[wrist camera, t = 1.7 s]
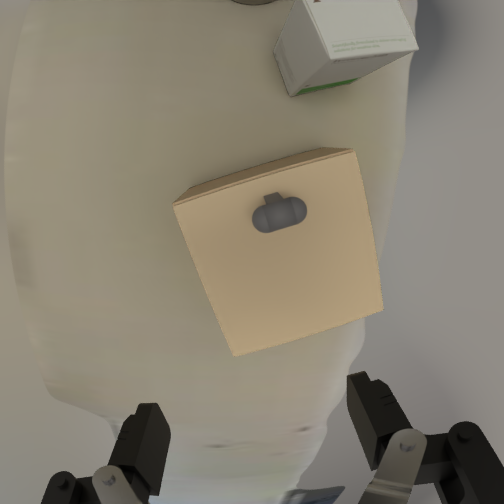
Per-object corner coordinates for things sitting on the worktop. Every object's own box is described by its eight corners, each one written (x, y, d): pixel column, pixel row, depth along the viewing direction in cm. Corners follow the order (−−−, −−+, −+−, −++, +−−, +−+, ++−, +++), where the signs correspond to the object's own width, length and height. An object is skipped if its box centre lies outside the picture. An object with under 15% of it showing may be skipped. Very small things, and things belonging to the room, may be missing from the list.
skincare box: (288, 97, 32) (325, 64, 17) (270, 47, 30) (292, -14, 15) (353, 83, 31) (423, 53, 17) (336, 35, 29) (392, -19, 15)
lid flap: (174, 205, 25) (159, 219, 21) (352, 151, 25) (378, 153, 20) (233, 353, 31) (233, 387, 26) (381, 307, 30) (402, 334, 25)
